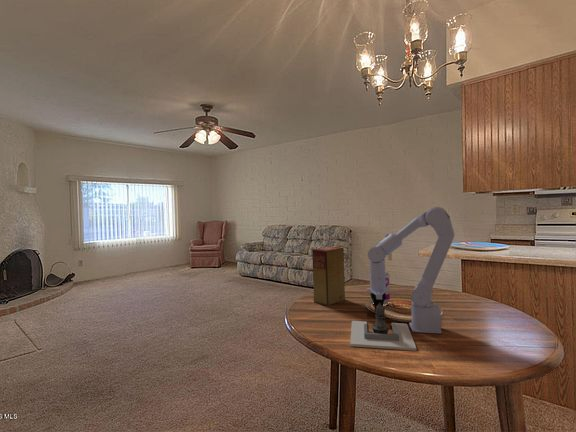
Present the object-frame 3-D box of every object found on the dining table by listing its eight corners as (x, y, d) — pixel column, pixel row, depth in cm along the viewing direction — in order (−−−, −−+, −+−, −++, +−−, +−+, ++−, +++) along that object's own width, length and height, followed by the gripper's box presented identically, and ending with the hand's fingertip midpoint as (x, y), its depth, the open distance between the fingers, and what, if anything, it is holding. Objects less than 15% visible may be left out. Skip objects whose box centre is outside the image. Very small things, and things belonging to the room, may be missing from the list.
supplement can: (392, 307, 137) (391, 273, 136) (373, 307, 137) (372, 273, 137) (386, 301, 145) (386, 269, 145) (368, 301, 145) (368, 269, 145)
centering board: (406, 325, 116) (406, 319, 116) (416, 350, 96) (416, 342, 96) (351, 322, 120) (351, 316, 120) (350, 346, 101) (350, 338, 101)
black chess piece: (390, 341, 103) (389, 305, 103) (372, 340, 105) (371, 304, 104) (388, 334, 109) (388, 300, 109) (371, 333, 110) (370, 299, 110)
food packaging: (330, 295, 156) (329, 245, 155) (346, 299, 149) (345, 247, 148) (312, 302, 147) (311, 249, 146) (328, 306, 140) (326, 250, 139)
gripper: (366, 273, 128) (367, 306, 128) (367, 281, 114) (368, 318, 114) (384, 273, 126) (385, 306, 127) (387, 282, 112) (388, 319, 113)
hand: (378, 312), depth 120 cm, fingers closed
